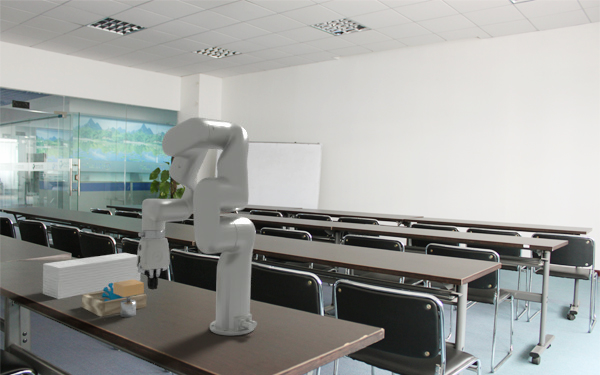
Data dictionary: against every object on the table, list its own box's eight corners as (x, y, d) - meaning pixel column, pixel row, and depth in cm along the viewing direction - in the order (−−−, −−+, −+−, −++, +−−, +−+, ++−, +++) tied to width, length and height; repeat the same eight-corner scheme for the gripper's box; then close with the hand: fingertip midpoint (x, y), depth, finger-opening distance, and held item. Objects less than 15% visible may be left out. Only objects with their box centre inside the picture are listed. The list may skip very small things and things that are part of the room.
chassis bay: (146, 307, 145) (146, 294, 145) (100, 316, 134) (100, 303, 134) (126, 298, 154) (126, 287, 154) (81, 307, 143) (81, 294, 143)
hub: (143, 293, 137) (144, 282, 137) (123, 297, 132) (123, 286, 132) (133, 289, 141) (133, 279, 141) (113, 293, 136) (113, 282, 136)
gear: (103, 307, 138) (102, 279, 144) (98, 317, 141) (97, 290, 147) (139, 307, 144) (137, 280, 150) (134, 317, 147) (132, 290, 154)
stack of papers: (124, 279, 184) (124, 252, 184) (140, 283, 178) (140, 255, 178) (42, 294, 158) (43, 263, 158) (58, 299, 152) (58, 267, 151)
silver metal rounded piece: (138, 315, 137) (139, 294, 137) (124, 318, 134) (125, 296, 133) (131, 311, 140) (131, 291, 140) (117, 314, 136) (118, 293, 136)
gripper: (138, 237, 145) (137, 294, 146) (178, 234, 157) (177, 287, 157) (127, 235, 150) (126, 290, 151) (166, 232, 162) (166, 283, 162)
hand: (152, 288), depth 154 cm, fingers closed
